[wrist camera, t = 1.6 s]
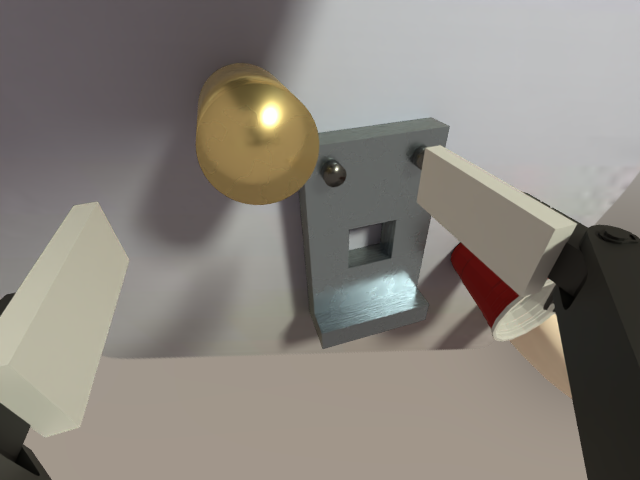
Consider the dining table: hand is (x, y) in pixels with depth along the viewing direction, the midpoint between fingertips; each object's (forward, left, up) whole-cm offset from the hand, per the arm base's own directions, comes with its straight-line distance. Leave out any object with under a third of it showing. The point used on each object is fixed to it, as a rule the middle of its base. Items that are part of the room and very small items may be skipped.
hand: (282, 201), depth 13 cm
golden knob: (0, 0, -16) cm, 16 cm away
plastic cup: (+23, +28, -16) cm, 40 cm away
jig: (+15, +11, -16) cm, 25 cm away
